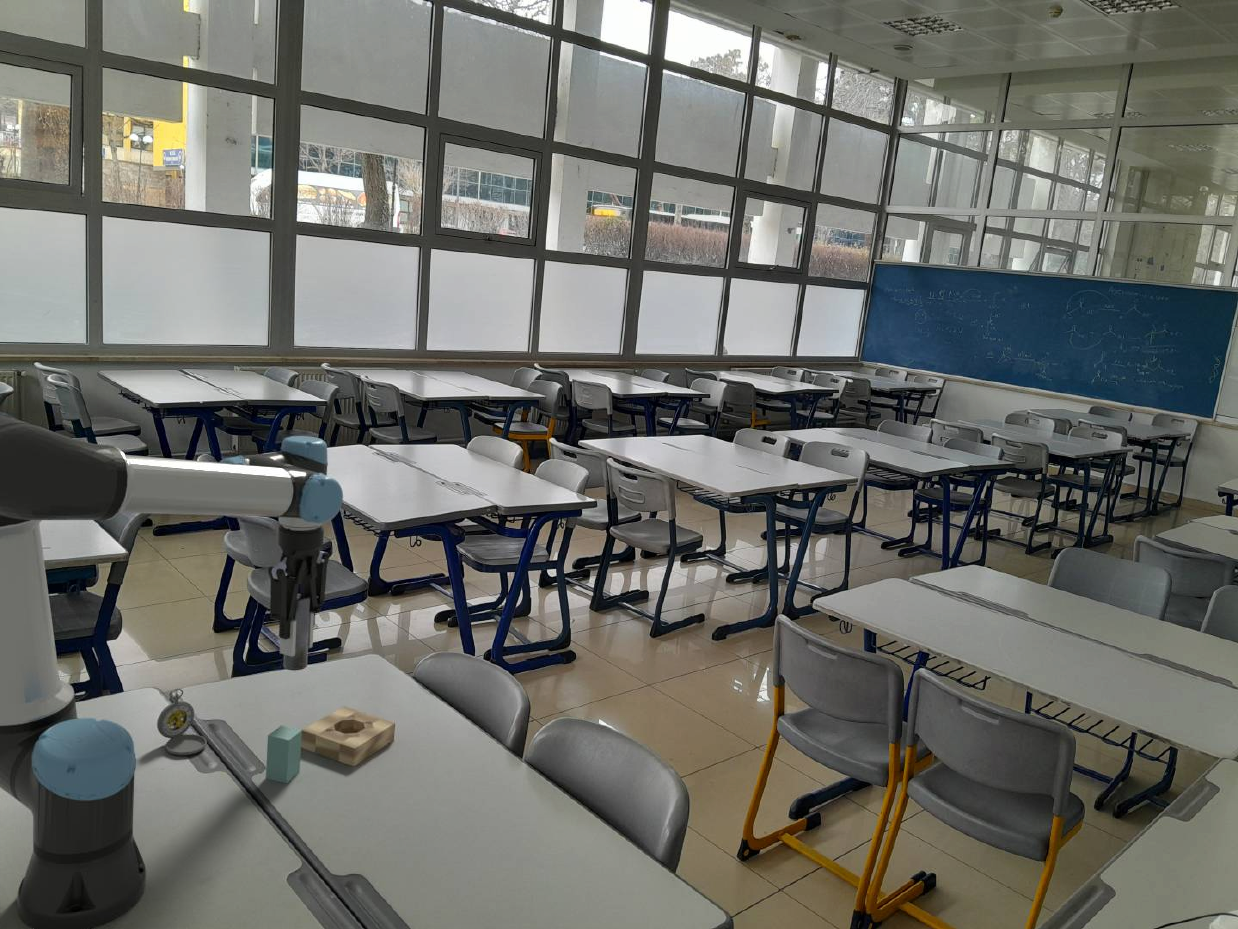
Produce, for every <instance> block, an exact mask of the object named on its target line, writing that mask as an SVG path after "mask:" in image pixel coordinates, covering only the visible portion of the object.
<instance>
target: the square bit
mask: <svg viewBox="0 0 1238 929" xmlns="http://www.w3.org/2000/svg"><path fill="white" fill-rule="evenodd" d="M302 730H303V729H298V728H295V727H289V726H286V725H281V724H280V726H279V727H277V728H275V730H273V731H272V732H270V733H269V734H268V735H267V750H266V763H265V764H266V766H265V767H266V770H265V779H267V780H271V781H276V782H278V783H279V782H280V783H283V784H287V783H289V782H291V780H293V778H295V777H296V776H297V775H298V774H299V773H300V770H301V769H300V768H301V755H302V754H301V752H302V748H301V738H302Z"/></svg>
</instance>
